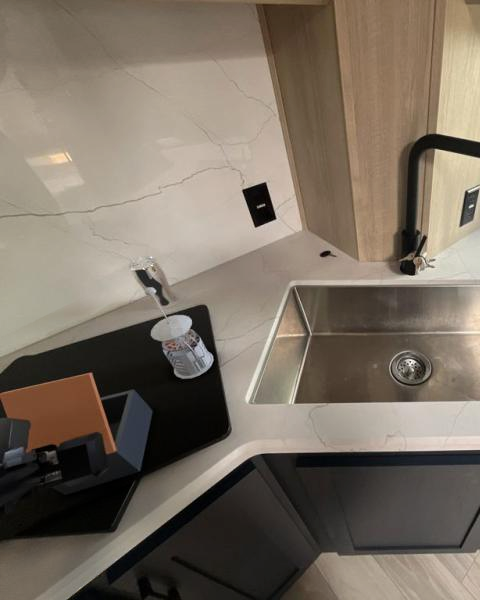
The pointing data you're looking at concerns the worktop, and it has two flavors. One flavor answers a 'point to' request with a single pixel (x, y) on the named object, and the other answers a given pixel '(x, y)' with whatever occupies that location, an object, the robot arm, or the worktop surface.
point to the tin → (121, 438)
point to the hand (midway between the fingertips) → (63, 454)
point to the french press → (181, 344)
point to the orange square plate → (60, 411)
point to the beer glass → (153, 280)
